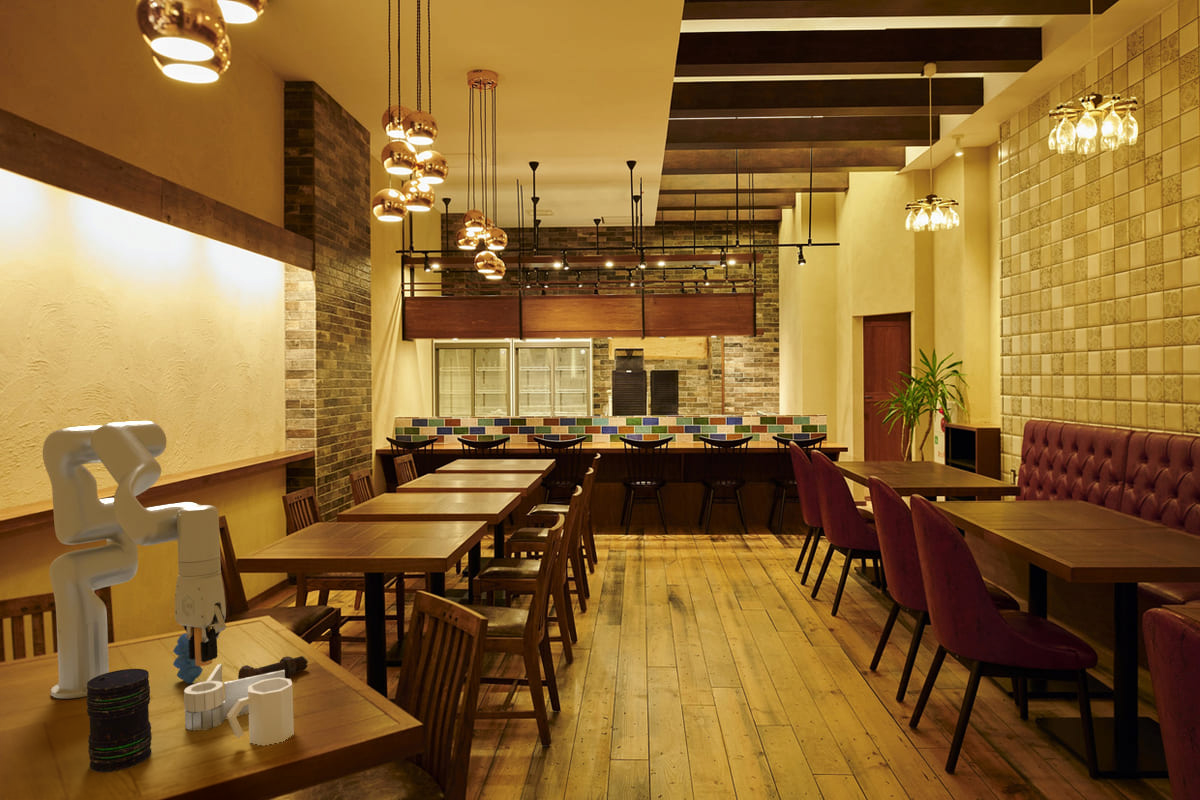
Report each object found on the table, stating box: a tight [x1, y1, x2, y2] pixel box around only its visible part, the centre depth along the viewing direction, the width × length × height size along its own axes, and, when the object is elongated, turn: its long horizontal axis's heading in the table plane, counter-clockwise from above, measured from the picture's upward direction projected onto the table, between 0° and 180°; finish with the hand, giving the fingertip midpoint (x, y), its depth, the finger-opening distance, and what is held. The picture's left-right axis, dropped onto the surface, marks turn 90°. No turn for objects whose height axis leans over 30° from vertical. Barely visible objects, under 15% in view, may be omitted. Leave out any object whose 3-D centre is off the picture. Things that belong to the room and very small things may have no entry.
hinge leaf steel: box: [184, 670, 286, 732], centre depth 161 cm, size 7×19×7 cm, turn 124°
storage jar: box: [86, 668, 153, 773], centre depth 143 cm, size 10×10×15 cm
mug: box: [227, 677, 295, 747], centre depth 150 cm, size 12×9×10 cm
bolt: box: [237, 655, 309, 680], centre depth 182 cm, size 6×5×15 cm
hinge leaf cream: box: [183, 663, 225, 712], centre depth 163 cm, size 17×7×7 cm, turn 14°
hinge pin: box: [194, 627, 213, 667], centre depth 158 cm, size 3×3×9 cm
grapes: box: [172, 632, 203, 685], centre depth 181 cm, size 12×7×12 cm, turn 52°
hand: (203, 657), depth 158 cm, fingers closed on hinge pin, 3 cm apart
